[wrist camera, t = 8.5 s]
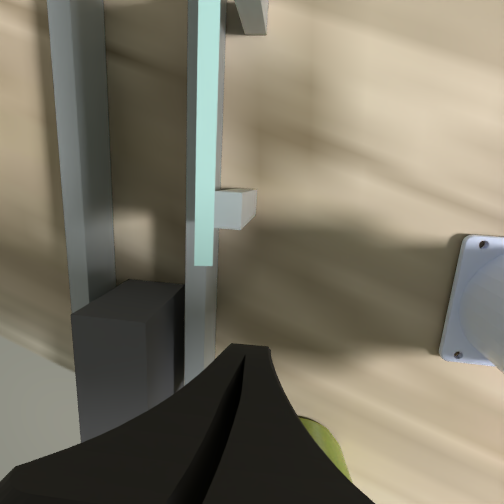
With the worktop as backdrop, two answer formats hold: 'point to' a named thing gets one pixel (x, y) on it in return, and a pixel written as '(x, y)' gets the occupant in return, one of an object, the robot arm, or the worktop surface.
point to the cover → (206, 129)
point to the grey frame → (99, 166)
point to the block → (127, 353)
